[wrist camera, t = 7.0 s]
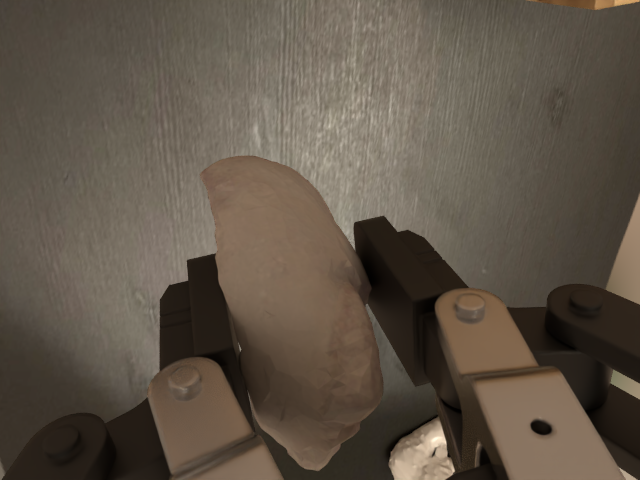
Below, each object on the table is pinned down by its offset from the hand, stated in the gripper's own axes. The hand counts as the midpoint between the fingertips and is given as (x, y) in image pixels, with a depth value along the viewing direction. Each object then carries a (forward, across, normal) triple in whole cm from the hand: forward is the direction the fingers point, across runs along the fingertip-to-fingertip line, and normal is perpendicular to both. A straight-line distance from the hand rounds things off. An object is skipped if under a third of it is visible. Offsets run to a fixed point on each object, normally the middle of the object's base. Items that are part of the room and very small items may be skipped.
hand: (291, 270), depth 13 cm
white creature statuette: (+28, -14, +46) cm, 55 cm away
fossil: (+5, 0, 0) cm, 5 cm away
